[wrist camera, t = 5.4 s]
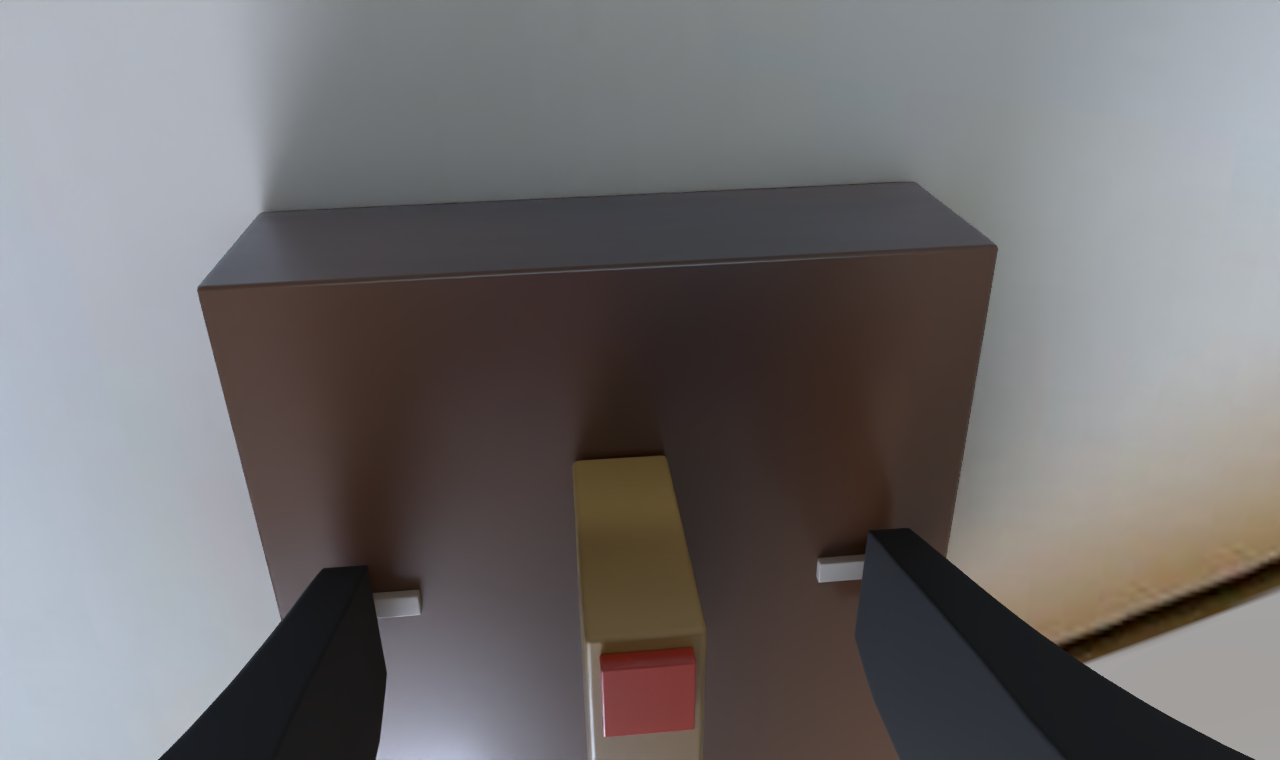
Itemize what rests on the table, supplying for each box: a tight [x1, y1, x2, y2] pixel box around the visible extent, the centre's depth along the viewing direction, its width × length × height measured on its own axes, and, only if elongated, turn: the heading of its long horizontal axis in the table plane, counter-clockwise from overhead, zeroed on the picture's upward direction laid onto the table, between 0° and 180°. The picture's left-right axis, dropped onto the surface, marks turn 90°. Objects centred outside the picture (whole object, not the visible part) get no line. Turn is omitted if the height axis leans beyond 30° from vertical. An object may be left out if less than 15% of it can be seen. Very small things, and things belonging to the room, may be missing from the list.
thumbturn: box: [572, 455, 707, 760], centre depth 12 cm, size 4×1×4 cm, turn 1°
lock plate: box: [197, 182, 998, 760], centre depth 15 cm, size 10×10×3 cm
